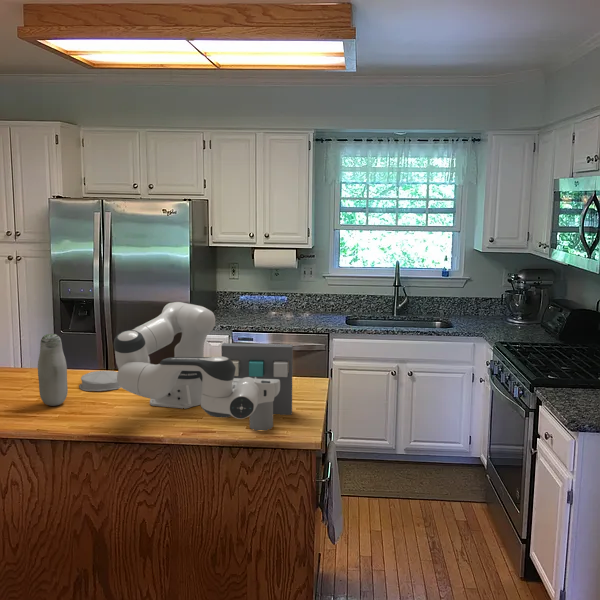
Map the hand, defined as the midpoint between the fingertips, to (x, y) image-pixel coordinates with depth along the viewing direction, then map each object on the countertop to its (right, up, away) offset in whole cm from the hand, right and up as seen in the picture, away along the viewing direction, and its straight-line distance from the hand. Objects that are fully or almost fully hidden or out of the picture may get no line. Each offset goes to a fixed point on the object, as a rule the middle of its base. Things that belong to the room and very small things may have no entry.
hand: (252, 379), depth 221 cm
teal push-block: (+1, 0, +15) cm, 15 cm away
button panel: (0, -15, +19) cm, 24 cm away
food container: (-67, -9, +51) cm, 85 cm away
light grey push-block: (+10, 0, +14) cm, 17 cm away
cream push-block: (-8, 0, +15) cm, 17 cm away
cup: (+3, -18, +5) cm, 19 cm away
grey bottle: (-78, -13, +25) cm, 83 cm away
